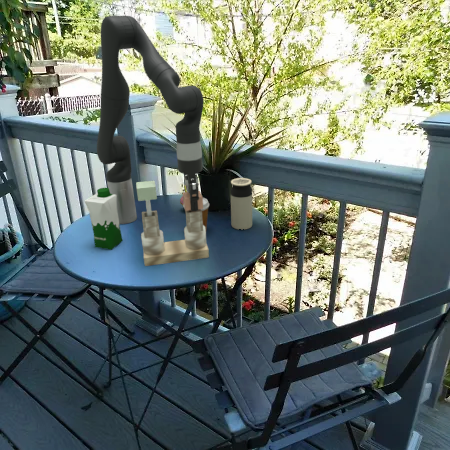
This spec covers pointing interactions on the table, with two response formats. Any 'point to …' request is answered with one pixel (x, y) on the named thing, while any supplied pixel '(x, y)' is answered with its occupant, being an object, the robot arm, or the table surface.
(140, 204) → the table surface
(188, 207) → the terracotta plunger
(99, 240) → the milk carton
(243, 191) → the travel mug
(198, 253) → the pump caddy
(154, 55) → the robot arm
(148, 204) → the sage plunger
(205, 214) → the disposable coffee cup
